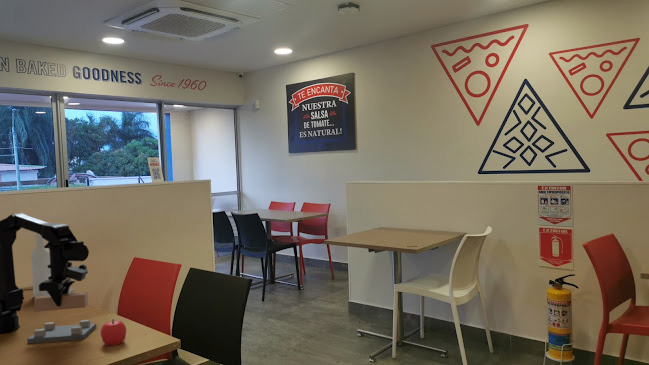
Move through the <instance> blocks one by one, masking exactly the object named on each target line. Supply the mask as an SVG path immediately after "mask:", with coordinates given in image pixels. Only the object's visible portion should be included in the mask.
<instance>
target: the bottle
mask: <svg viewBox="0 0 649 365" xmlns="http://www.w3.org/2000/svg"><path fill="white" fill-rule="evenodd" d="M34 233H35V232H34ZM34 238H35V248H34V250H32V251H31V252H32V253H31V271H32V272H31V275H32V294H33V298H34V297H35V298H36V297H38V296H46V295H49V293H48V292H47V291H39V285H40V284H41V283H42V282H44V281H46V280H48V277H49V276H51V272H50V268H48V265H50V253H49V248H44V246H45V245H46V243H45V242H46V240H45V239H43V238H42V236H41V235H40V234H38V233H35V235H34ZM35 298H34V299H35Z"/></svg>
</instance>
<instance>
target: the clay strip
mask: <svg viewBox="0 0 649 365" xmlns="http://www.w3.org/2000/svg"><path fill="white" fill-rule="evenodd" d="M33 301H34V304H33V305H34V312H35V313H36V312H45V311H49V312H50V311H58V310H59V311H60V310H69V309H70V310H71V309H72V310H73V309H81V308H82V309H83V308H84V309H85V308H86V307H87V306H89V299H88V292H87V291H85V292H73V293H71V294H62V301H61V306H57V305H56V304H55V302H54V301H53V299H52V298H51V296H50V295H46V296H38V297H36V298H34V299H33Z"/></svg>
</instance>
